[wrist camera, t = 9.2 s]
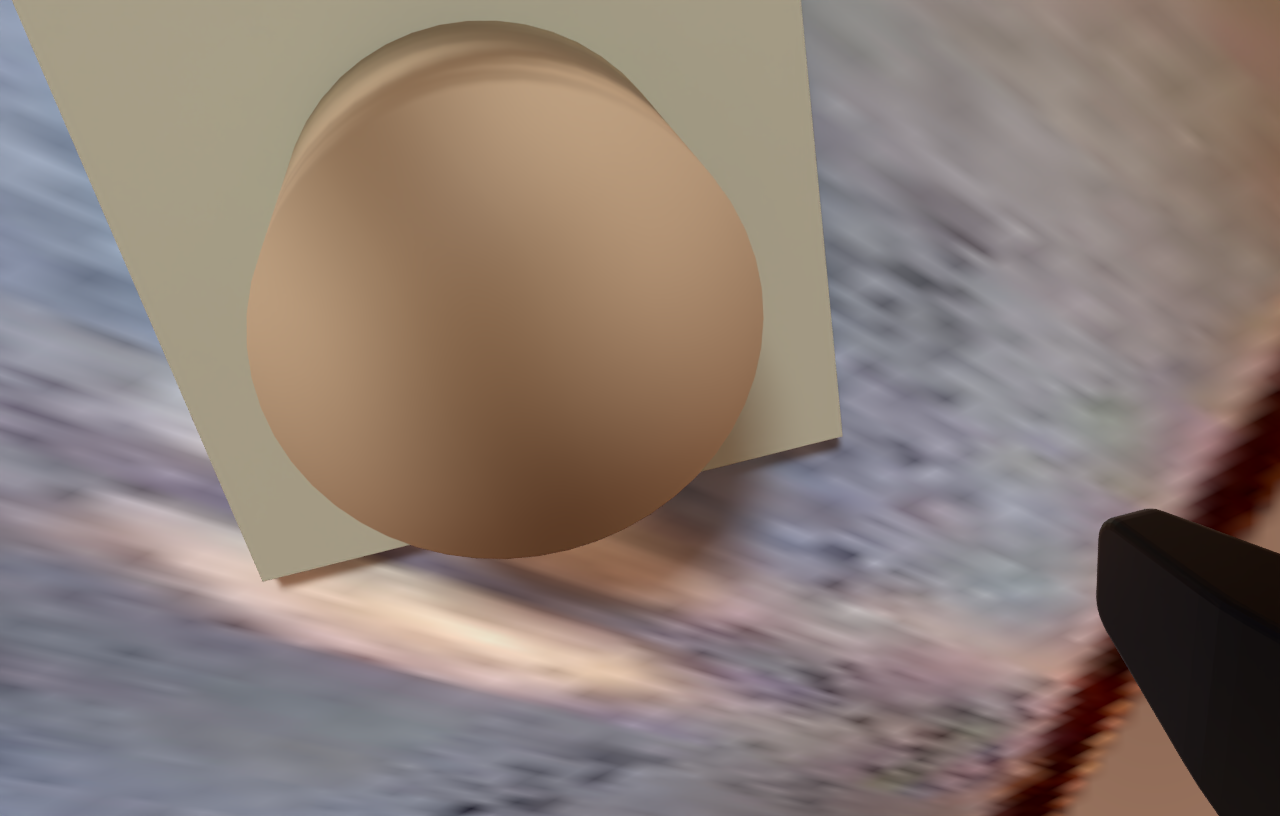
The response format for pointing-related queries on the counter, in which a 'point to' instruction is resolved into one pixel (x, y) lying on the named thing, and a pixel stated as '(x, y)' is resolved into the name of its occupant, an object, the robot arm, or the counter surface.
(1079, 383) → the counter surface
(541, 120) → the beige rounded cylinder
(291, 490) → the mat
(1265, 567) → the robot arm
